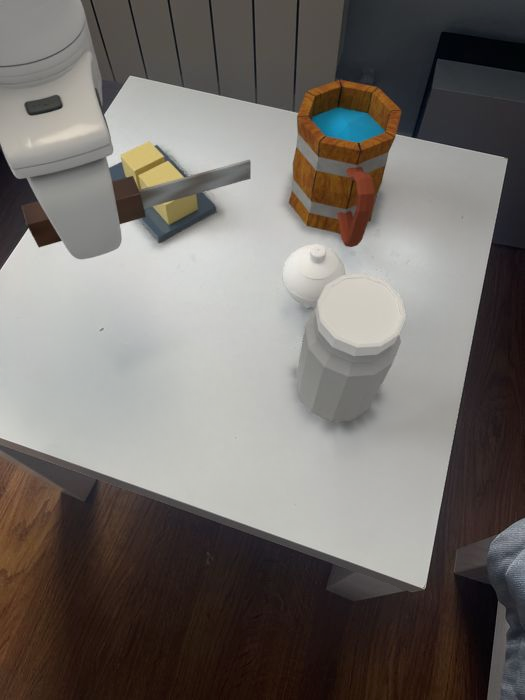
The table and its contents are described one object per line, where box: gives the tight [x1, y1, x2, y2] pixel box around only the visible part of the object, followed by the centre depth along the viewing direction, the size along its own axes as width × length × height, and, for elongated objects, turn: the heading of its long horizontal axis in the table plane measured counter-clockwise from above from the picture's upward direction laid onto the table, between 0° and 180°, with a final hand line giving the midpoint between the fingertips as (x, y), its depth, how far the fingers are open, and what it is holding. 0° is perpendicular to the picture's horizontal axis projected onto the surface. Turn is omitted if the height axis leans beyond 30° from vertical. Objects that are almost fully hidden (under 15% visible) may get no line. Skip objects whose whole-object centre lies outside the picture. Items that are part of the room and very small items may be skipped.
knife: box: [21, 159, 252, 248], centre depth 50 cm, size 21×2×3 cm, turn 113°
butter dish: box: [109, 144, 217, 244], centre depth 80 cm, size 10×16×1 cm, turn 38°
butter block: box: [138, 161, 198, 225], centre depth 77 cm, size 5×7×4 cm
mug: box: [288, 79, 402, 248], centre depth 73 cm, size 20×14×15 cm
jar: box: [295, 273, 407, 422], centre depth 58 cm, size 10×10×18 cm
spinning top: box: [281, 243, 347, 309], centre depth 66 cm, size 8×8×12 cm
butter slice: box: [119, 140, 165, 190], centre depth 79 cm, size 5×4×4 cm
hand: (85, 211), depth 48 cm, fingers closed on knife, 2 cm apart
